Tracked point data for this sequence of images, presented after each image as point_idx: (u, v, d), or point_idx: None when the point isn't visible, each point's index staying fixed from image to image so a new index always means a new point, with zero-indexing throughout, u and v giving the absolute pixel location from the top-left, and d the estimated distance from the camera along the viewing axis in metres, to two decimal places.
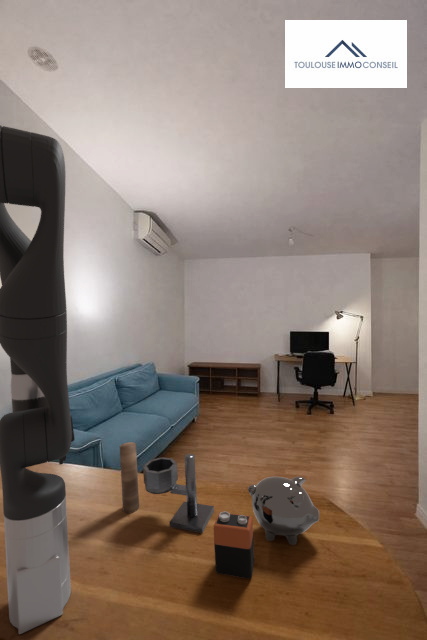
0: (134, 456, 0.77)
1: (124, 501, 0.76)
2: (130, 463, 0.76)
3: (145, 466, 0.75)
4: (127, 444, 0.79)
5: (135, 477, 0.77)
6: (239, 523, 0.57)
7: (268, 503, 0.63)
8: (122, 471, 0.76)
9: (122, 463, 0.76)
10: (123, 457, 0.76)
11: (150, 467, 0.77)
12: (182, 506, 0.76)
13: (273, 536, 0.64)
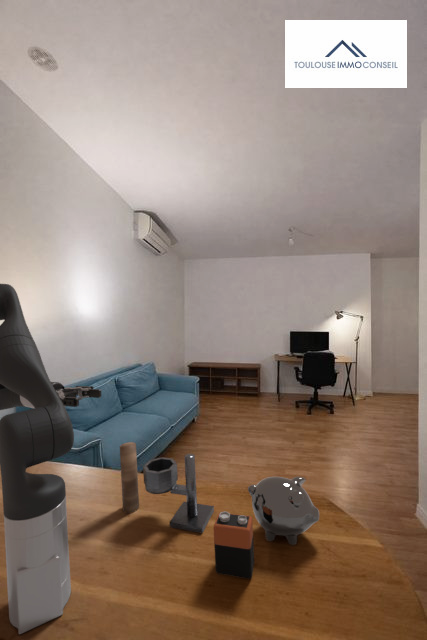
0: (134, 456, 0.77)
1: (124, 501, 0.76)
2: (130, 463, 0.76)
3: (145, 466, 0.75)
4: (127, 444, 0.79)
5: (135, 477, 0.77)
6: (239, 523, 0.57)
7: (268, 503, 0.63)
8: (122, 471, 0.76)
9: (122, 463, 0.76)
10: (123, 457, 0.76)
11: (150, 467, 0.77)
12: (182, 506, 0.76)
13: (273, 536, 0.64)
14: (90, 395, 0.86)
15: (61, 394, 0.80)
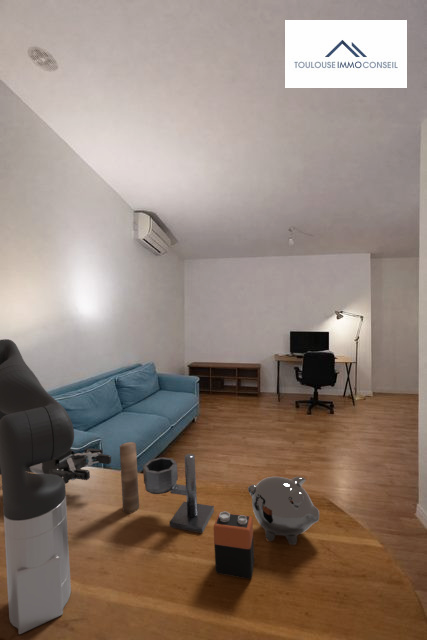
0: (134, 456, 0.77)
1: (124, 501, 0.76)
2: (130, 463, 0.76)
3: (145, 466, 0.75)
4: (127, 444, 0.79)
5: (135, 477, 0.77)
6: (239, 523, 0.57)
7: (268, 503, 0.63)
8: (122, 471, 0.76)
9: (122, 463, 0.76)
10: (123, 457, 0.76)
11: (150, 467, 0.77)
12: (182, 506, 0.76)
13: (273, 536, 0.64)
14: (100, 461, 0.85)
15: (71, 465, 0.79)
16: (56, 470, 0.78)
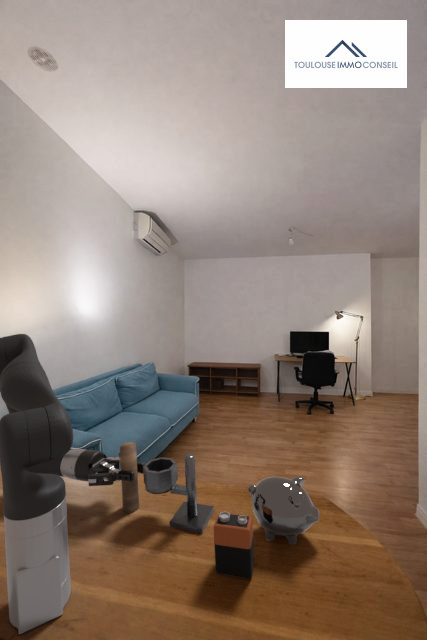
0: (134, 456, 0.77)
1: (124, 501, 0.76)
2: (130, 463, 0.76)
3: (145, 466, 0.75)
4: (127, 444, 0.79)
5: (135, 477, 0.77)
6: (239, 523, 0.57)
7: (268, 502, 0.63)
8: None
9: (122, 463, 0.76)
10: (123, 457, 0.76)
11: (150, 467, 0.77)
12: (182, 506, 0.76)
13: (273, 536, 0.64)
14: None
15: (112, 467, 0.77)
16: (97, 474, 0.75)
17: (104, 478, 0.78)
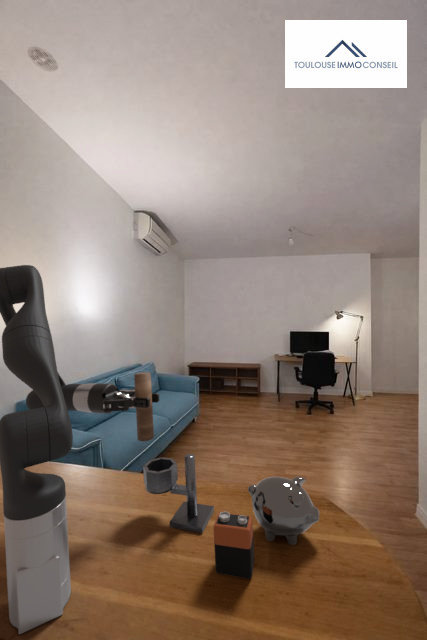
0: (149, 384, 0.75)
1: (139, 429, 0.74)
2: (145, 390, 0.74)
3: (145, 466, 0.75)
4: (142, 373, 0.77)
5: (150, 405, 0.75)
6: (239, 523, 0.57)
7: (268, 503, 0.63)
8: None
9: (137, 390, 0.74)
10: (138, 384, 0.74)
11: (150, 467, 0.77)
12: (182, 506, 0.76)
13: (273, 536, 0.64)
14: None
15: (126, 395, 0.75)
16: (111, 400, 0.73)
17: None
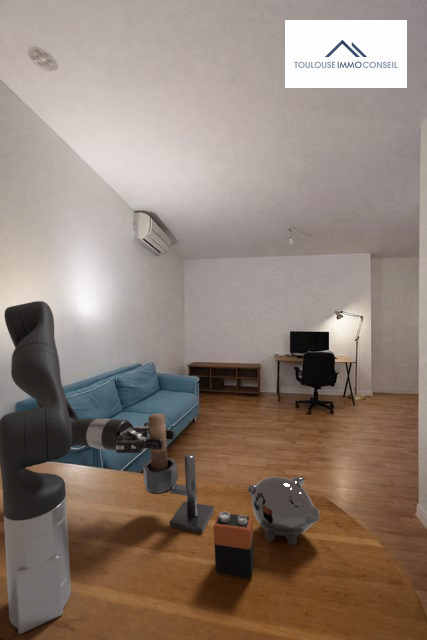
0: (163, 427, 0.74)
1: None
2: (160, 434, 0.73)
3: (145, 466, 0.75)
4: (156, 415, 0.76)
5: (165, 448, 0.74)
6: (239, 523, 0.57)
7: (268, 503, 0.63)
8: None
9: (151, 434, 0.73)
10: (152, 428, 0.73)
11: (150, 467, 0.77)
12: (182, 506, 0.76)
13: (273, 536, 0.64)
14: None
15: (139, 435, 0.74)
16: (124, 441, 0.71)
17: (132, 446, 0.75)
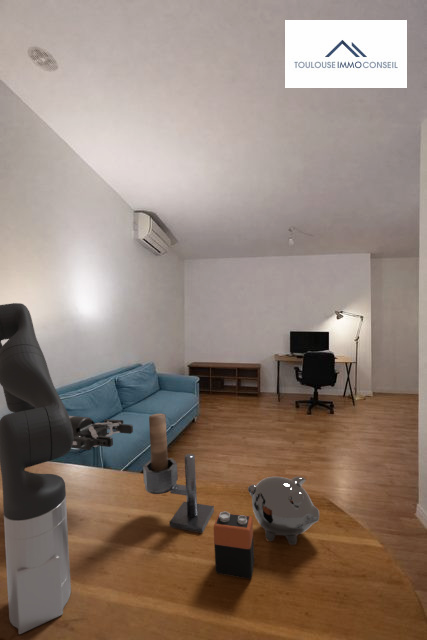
0: (164, 427, 0.74)
1: None
2: (160, 434, 0.73)
3: (145, 466, 0.75)
4: (156, 415, 0.76)
5: (165, 449, 0.74)
6: (239, 523, 0.57)
7: (268, 503, 0.63)
8: (152, 442, 0.74)
9: (152, 434, 0.73)
10: (153, 428, 0.73)
11: (150, 467, 0.77)
12: (182, 506, 0.76)
13: (273, 536, 0.64)
14: (121, 431, 0.83)
15: (93, 432, 0.77)
16: (78, 437, 0.75)
17: None
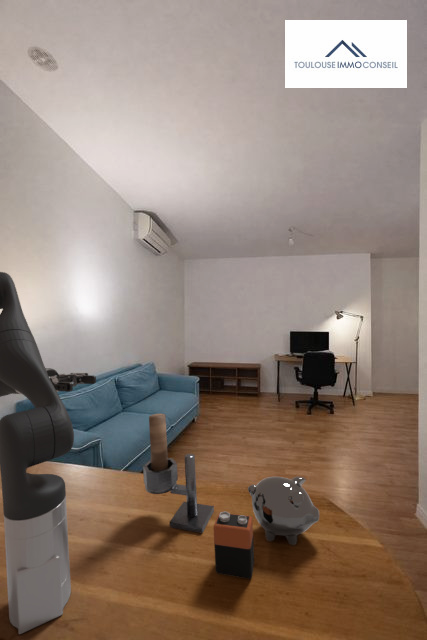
0: (164, 427, 0.74)
1: None
2: (160, 434, 0.73)
3: (145, 466, 0.75)
4: (156, 415, 0.76)
5: (165, 449, 0.74)
6: (239, 523, 0.57)
7: (268, 503, 0.63)
8: (152, 442, 0.74)
9: (152, 434, 0.73)
10: (153, 428, 0.73)
11: (150, 467, 0.77)
12: (182, 506, 0.76)
13: (273, 536, 0.64)
14: (84, 381, 0.85)
15: (55, 379, 0.79)
16: None
17: None
